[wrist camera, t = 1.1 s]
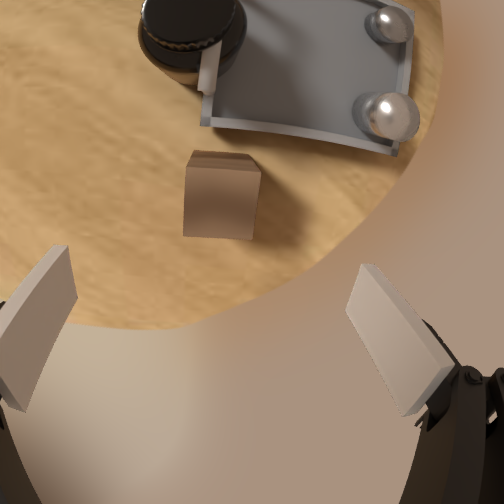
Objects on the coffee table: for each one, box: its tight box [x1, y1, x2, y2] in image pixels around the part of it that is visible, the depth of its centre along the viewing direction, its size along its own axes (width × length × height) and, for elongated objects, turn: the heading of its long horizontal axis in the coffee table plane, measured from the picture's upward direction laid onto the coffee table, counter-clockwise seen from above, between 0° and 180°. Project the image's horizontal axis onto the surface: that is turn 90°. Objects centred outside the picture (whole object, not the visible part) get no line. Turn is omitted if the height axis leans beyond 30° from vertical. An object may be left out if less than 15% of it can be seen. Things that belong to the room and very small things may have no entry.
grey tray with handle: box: [197, 0, 415, 157], centre depth 18 cm, size 16×18×10 cm
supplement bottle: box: [138, 0, 247, 85], centre depth 15 cm, size 7×7×12 cm
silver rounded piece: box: [352, 92, 420, 142], centre depth 21 cm, size 4×4×5 cm
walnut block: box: [183, 150, 261, 240], centre depth 23 cm, size 5×5×8 cm
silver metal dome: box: [364, 6, 414, 46], centre depth 18 cm, size 4×4×3 cm
